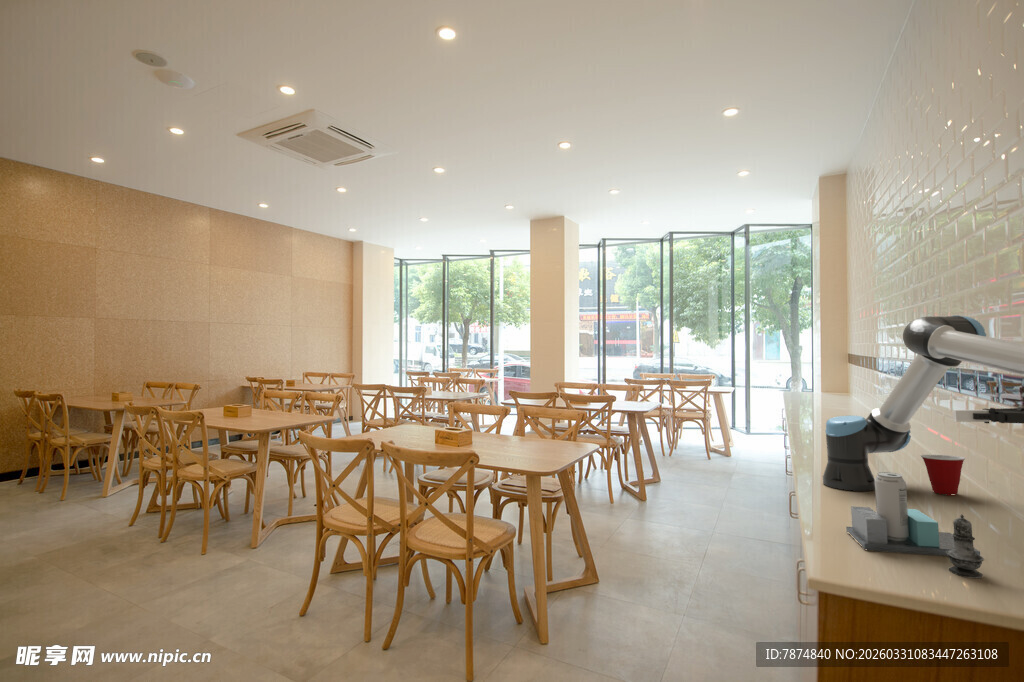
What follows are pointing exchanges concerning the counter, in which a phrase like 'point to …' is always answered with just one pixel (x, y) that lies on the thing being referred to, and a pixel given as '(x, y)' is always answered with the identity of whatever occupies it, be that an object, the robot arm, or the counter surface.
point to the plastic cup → (944, 472)
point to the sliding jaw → (922, 529)
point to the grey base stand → (874, 535)
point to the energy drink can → (892, 504)
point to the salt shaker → (964, 551)
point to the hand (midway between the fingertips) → (954, 415)
